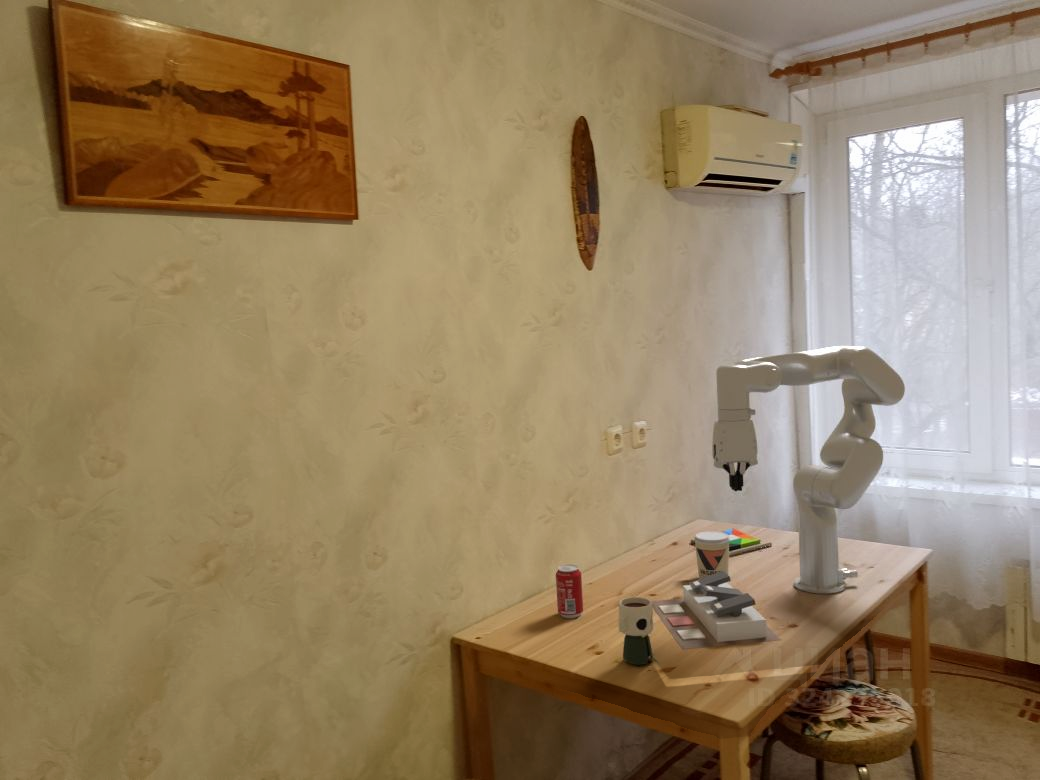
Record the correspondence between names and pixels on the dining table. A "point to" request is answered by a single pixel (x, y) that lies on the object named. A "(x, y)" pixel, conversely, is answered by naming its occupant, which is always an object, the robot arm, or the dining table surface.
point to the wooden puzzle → (741, 542)
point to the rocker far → (710, 581)
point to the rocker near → (733, 605)
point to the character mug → (636, 628)
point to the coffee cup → (712, 552)
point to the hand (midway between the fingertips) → (736, 489)
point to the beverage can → (569, 591)
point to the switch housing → (725, 618)
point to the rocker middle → (720, 592)
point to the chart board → (694, 626)
